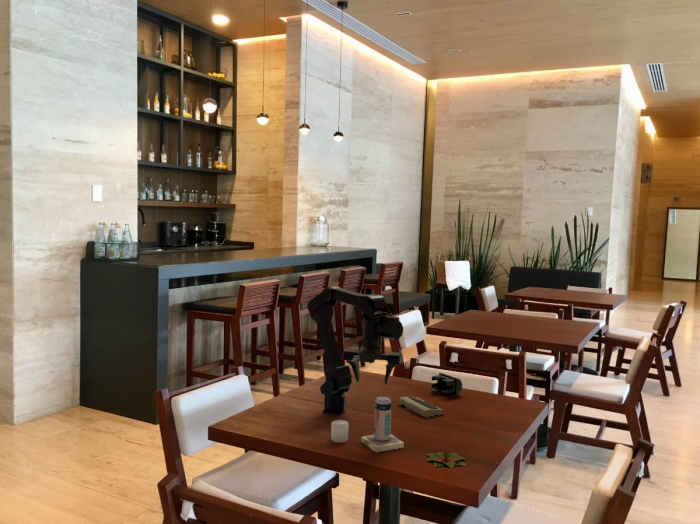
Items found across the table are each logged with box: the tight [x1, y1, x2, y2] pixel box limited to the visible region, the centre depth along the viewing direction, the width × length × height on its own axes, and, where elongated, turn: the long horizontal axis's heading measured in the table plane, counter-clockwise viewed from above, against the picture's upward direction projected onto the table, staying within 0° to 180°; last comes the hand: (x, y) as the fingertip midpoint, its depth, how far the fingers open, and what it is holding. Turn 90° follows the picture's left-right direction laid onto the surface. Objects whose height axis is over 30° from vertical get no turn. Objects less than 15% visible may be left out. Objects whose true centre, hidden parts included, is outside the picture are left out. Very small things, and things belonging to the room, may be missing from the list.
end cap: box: [430, 372, 463, 398], centre depth 230 cm, size 10×7×7 cm
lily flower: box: [425, 444, 467, 470], centre depth 165 cm, size 12×12×5 cm
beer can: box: [373, 395, 392, 441], centre depth 175 cm, size 5×5×12 cm
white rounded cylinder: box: [330, 419, 349, 443], centre depth 179 cm, size 5×5×5 cm
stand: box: [360, 434, 405, 453], centre depth 176 cm, size 9×9×2 cm
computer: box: [398, 396, 444, 418], centre depth 209 cm, size 16×8×3 cm, turn 28°
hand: (371, 383), depth 193 cm, fingers open, 9 cm apart
